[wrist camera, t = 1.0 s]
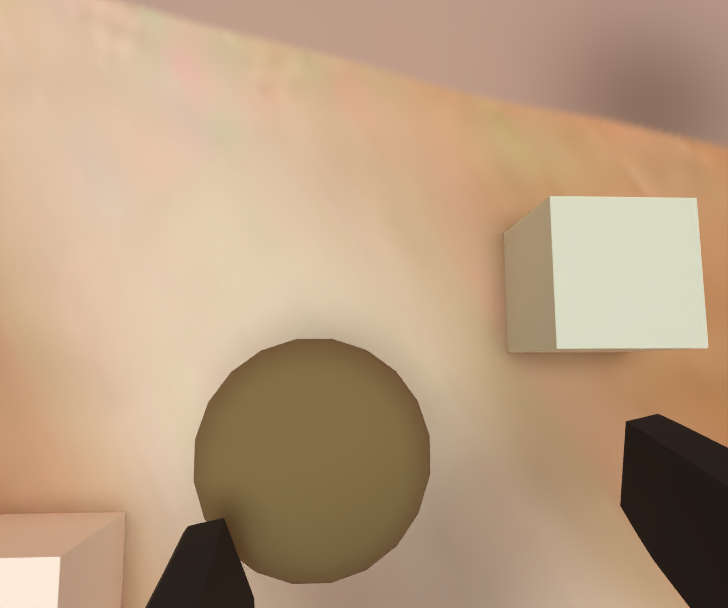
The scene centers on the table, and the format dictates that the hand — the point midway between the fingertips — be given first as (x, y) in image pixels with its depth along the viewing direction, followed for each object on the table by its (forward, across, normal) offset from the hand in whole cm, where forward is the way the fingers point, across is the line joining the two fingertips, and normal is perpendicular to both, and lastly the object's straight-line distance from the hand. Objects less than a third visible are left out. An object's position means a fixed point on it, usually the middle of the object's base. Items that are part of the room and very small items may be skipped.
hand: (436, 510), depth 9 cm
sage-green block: (+12, -9, +3) cm, 15 cm away
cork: (+11, +2, +5) cm, 12 cm away
